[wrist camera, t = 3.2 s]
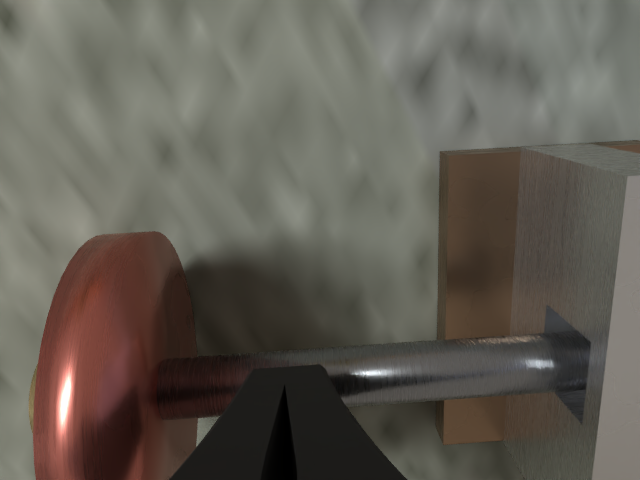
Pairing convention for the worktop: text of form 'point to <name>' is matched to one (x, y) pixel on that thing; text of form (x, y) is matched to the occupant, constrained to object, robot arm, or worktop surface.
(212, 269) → the worktop surface
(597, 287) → the eye bracket
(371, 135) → the worktop surface
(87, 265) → the red wheel with axle
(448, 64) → the worktop surface
